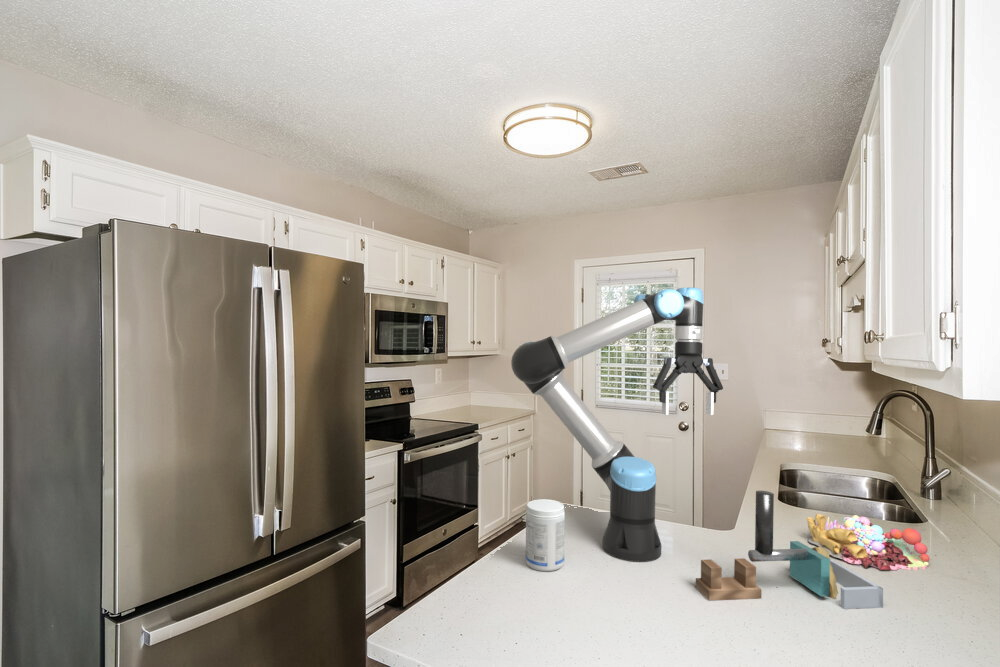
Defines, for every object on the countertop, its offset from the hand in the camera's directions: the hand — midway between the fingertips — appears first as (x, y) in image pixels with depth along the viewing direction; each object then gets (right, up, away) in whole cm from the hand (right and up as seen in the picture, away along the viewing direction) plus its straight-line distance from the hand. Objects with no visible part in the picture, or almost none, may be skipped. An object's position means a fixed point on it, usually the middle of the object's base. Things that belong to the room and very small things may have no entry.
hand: (687, 414), depth 149 cm
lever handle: (+9, -34, -33) cm, 48 cm away
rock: (+21, -35, -31) cm, 51 cm away
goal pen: (+22, -35, -32) cm, 52 cm away
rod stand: (-4, -34, -35) cm, 49 cm away
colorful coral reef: (+44, -36, -10) cm, 58 cm away
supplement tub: (-44, -34, -22) cm, 59 cm away
